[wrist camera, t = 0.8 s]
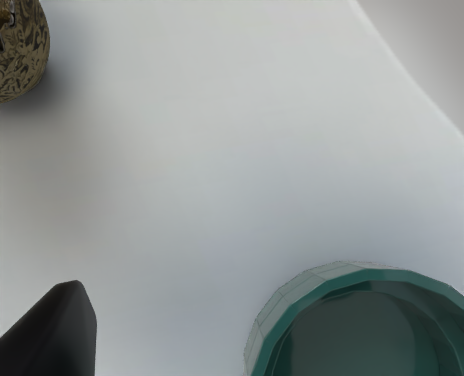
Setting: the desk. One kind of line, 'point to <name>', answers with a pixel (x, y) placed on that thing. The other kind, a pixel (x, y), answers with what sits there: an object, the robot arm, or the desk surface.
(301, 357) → the bowl
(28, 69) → the cup
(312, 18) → the desk surface
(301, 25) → the desk surface
